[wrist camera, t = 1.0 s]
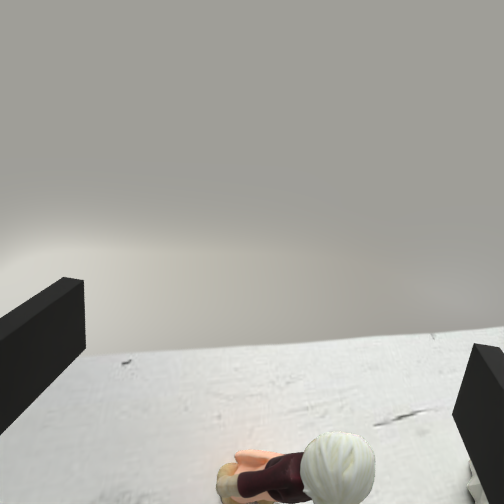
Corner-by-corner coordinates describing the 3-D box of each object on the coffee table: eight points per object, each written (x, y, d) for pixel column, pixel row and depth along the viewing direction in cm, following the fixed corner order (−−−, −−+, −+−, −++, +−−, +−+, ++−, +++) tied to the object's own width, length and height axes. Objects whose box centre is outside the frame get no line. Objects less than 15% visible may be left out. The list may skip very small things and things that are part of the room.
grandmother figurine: (283, 439, 31) (403, 397, 21) (299, 499, 29) (438, 484, 20) (179, 468, 27) (267, 435, 17) (192, 539, 26) (296, 545, 16)
